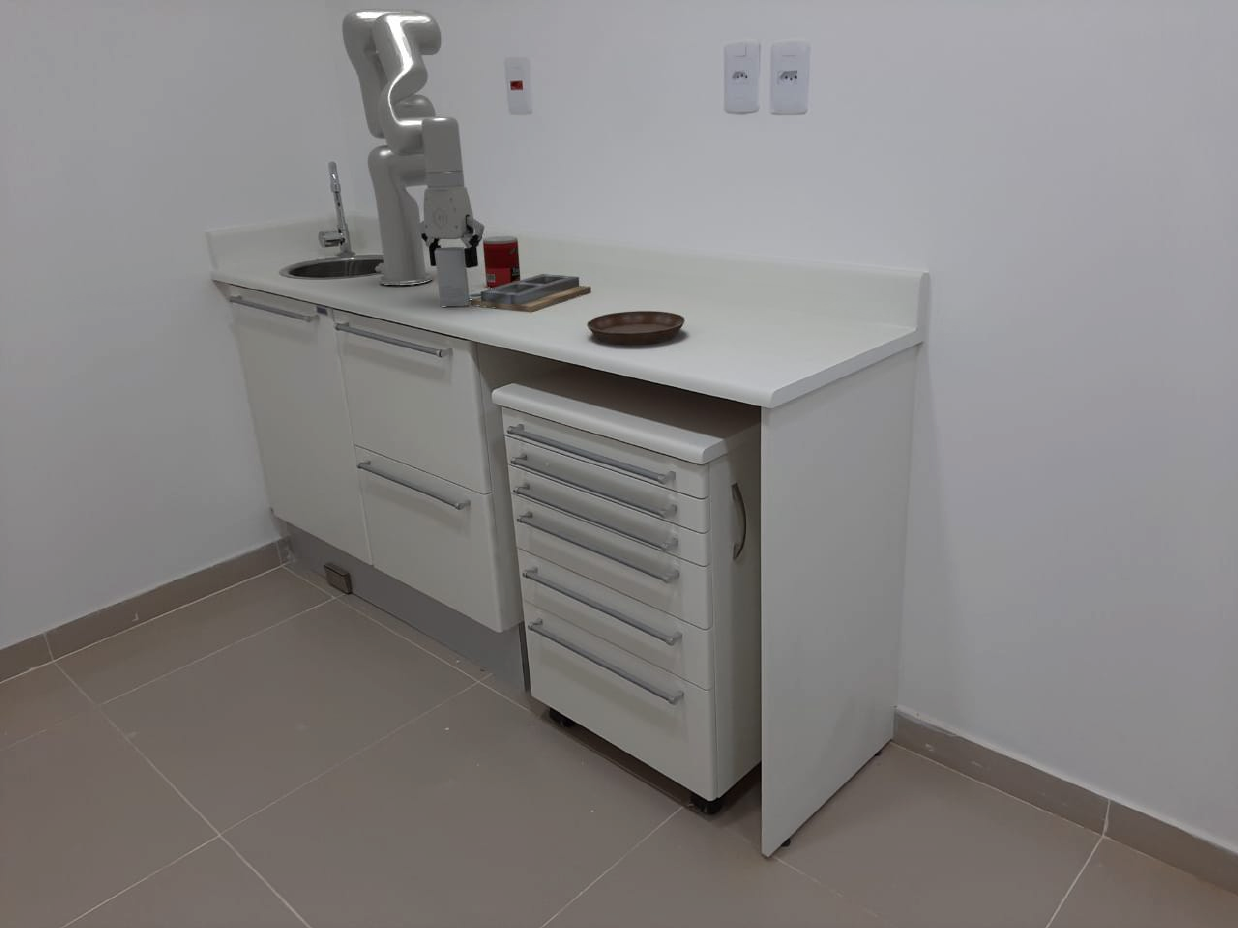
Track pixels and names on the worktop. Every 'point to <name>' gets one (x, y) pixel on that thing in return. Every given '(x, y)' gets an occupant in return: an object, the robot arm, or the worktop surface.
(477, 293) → the card
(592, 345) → the worktop surface
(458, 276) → the skincare box
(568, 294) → the holder
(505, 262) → the canned food
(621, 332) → the plant saucer
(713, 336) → the worktop surface
